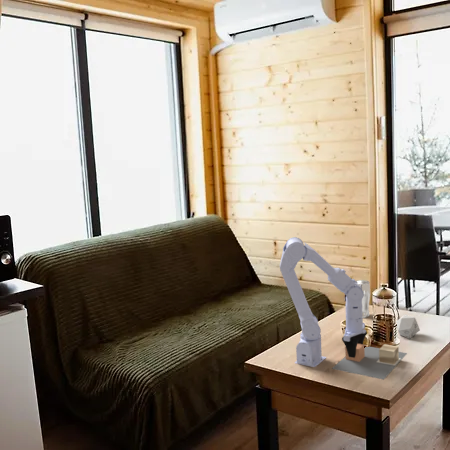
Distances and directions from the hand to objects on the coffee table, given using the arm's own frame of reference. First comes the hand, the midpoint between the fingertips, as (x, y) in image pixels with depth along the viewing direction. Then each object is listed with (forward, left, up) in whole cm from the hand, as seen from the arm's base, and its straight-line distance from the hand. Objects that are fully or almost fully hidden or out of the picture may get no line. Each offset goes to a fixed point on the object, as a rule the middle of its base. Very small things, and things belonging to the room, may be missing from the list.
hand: (355, 354), depth 195 cm
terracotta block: (0, 0, -1) cm, 1 cm away
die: (+30, -9, -2) cm, 31 cm away
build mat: (0, -6, -2) cm, 6 cm away
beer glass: (+45, +15, -2) cm, 47 cm away
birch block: (+3, -11, -1) cm, 12 cm away
